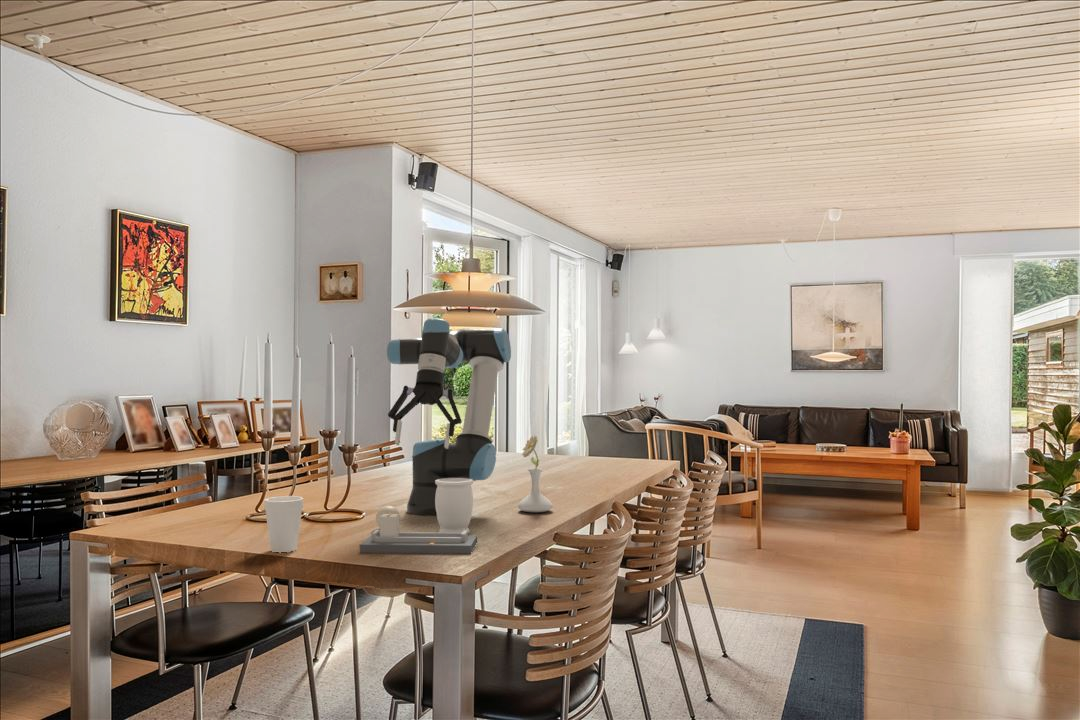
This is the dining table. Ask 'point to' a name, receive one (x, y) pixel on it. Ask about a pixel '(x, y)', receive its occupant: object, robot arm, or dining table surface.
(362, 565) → the dining table surface
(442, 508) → the jar
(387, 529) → the block
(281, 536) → the foam cup
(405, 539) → the slider track
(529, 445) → the flower in vase
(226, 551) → the dining table surface
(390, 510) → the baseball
